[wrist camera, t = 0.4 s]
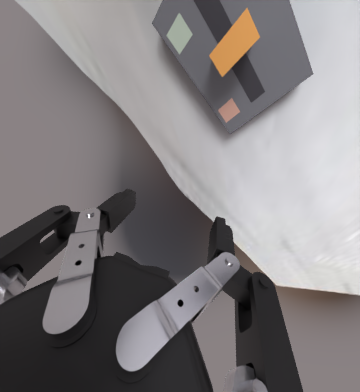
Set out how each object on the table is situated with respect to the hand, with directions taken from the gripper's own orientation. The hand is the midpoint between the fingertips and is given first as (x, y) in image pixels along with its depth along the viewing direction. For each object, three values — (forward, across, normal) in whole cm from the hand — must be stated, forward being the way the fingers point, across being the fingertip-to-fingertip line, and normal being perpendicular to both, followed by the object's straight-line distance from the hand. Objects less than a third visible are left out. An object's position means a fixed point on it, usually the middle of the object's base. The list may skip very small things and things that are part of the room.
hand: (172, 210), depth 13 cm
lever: (+20, 0, -17) cm, 27 cm away
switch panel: (+24, 0, -18) cm, 31 cm away
